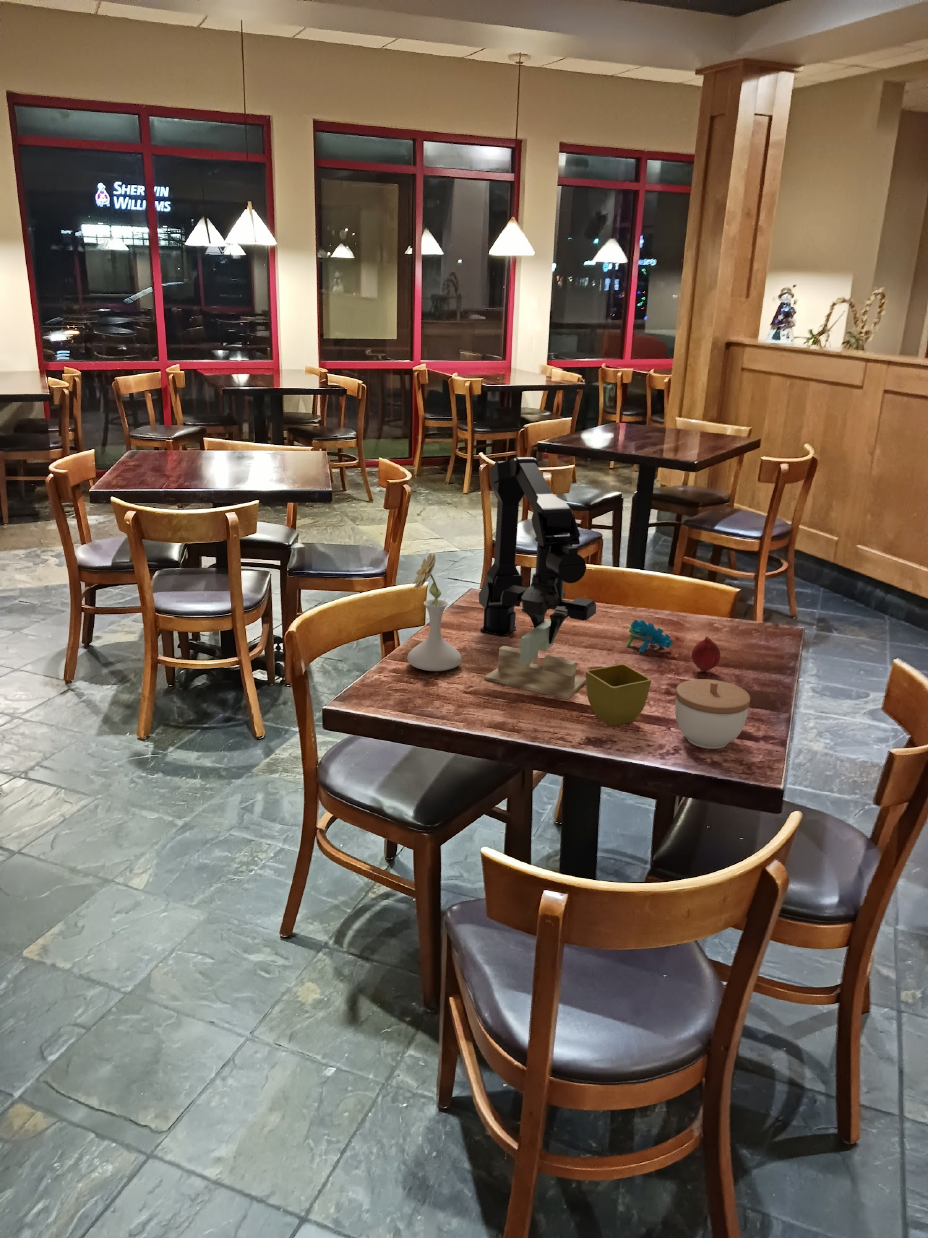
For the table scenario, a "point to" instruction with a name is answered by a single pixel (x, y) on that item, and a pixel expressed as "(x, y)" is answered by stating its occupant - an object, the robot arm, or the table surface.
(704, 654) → the onion
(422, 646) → the flower in vase
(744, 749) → the table surface
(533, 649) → the sage board
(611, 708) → the flower pot
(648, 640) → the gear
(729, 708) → the lidded bowl
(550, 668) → the maple jig
